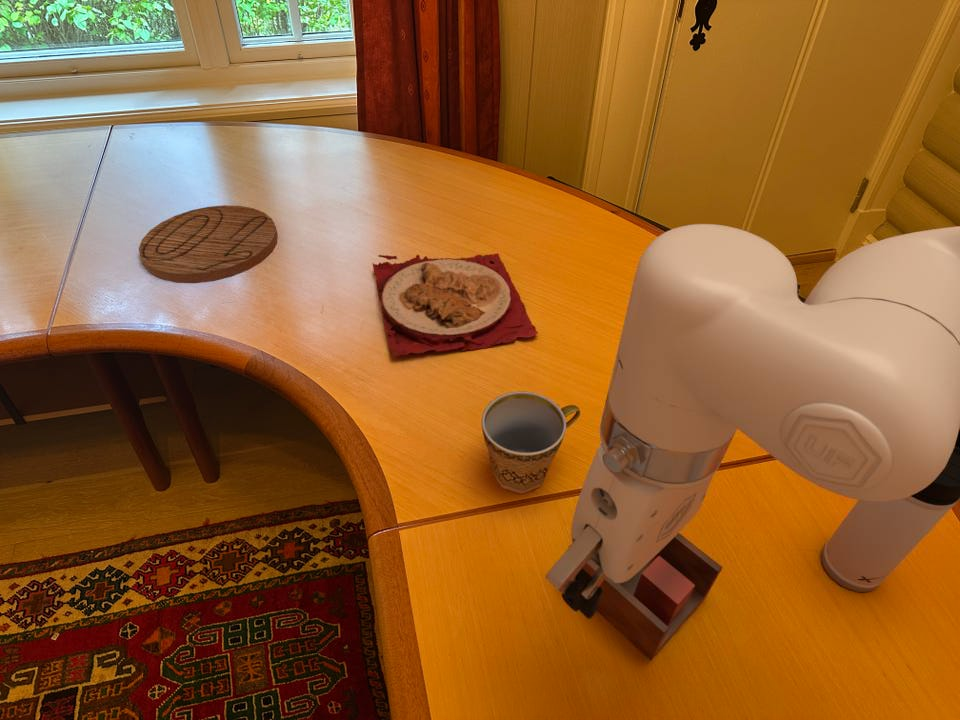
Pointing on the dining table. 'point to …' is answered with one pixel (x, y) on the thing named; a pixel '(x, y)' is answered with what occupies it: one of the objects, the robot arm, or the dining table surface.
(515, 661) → the dining table surface
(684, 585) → the open wooden box
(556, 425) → the ceramic cup
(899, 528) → the travel mug
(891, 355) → the robot arm
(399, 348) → the plate with food
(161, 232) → the trivet
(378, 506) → the dining table surface
